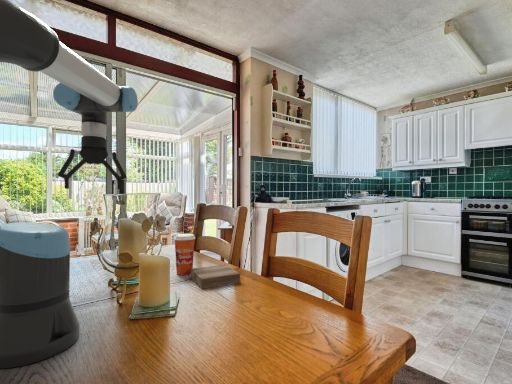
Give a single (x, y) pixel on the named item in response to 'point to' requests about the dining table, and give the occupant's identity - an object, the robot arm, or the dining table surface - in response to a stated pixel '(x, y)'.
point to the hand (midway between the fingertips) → (93, 198)
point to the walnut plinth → (215, 276)
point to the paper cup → (184, 253)
